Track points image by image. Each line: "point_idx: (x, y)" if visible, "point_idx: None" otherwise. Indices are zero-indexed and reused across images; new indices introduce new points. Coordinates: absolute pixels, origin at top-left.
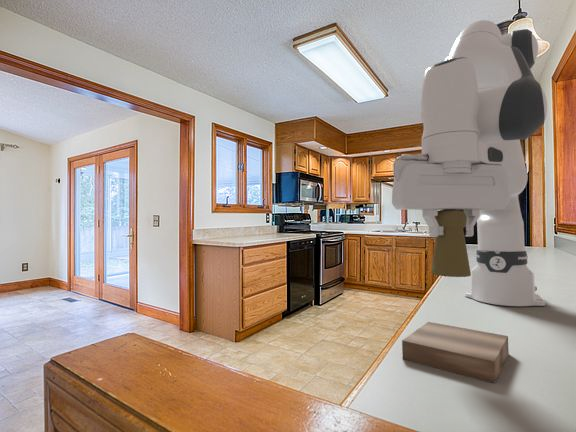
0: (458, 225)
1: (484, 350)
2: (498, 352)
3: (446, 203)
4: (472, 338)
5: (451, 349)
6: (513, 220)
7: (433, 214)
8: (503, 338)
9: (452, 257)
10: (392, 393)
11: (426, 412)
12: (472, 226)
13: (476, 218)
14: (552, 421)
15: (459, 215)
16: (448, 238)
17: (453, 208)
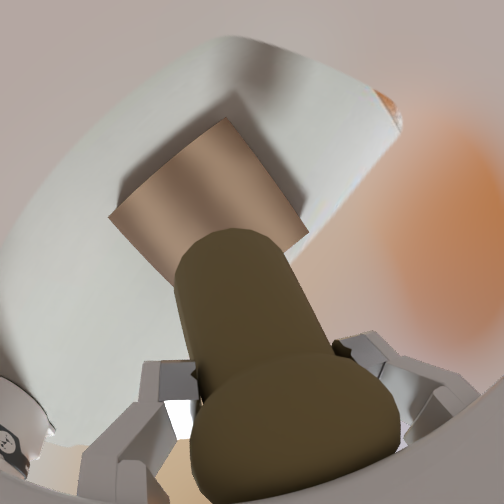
0: (304, 356)
1: (204, 159)
2: (187, 146)
3: (464, 445)
4: (181, 216)
5: (257, 175)
6: None
7: (452, 388)
8: (125, 206)
9: (279, 266)
10: (359, 140)
11: (346, 97)
12: (147, 398)
13: (110, 441)
14: (232, 42)
15: (333, 407)
16: (316, 321)
17: (382, 460)
